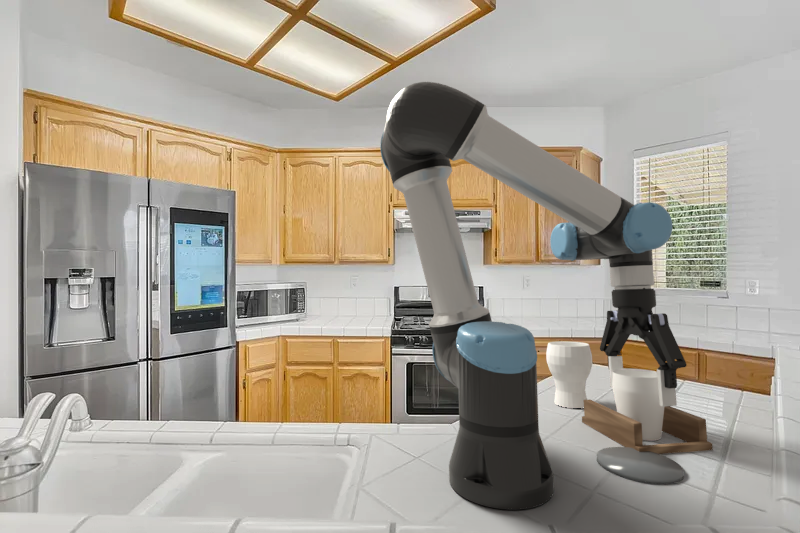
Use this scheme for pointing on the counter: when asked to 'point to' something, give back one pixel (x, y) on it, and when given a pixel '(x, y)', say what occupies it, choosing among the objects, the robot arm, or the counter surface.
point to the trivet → (640, 465)
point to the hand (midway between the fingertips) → (640, 395)
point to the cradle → (631, 430)
